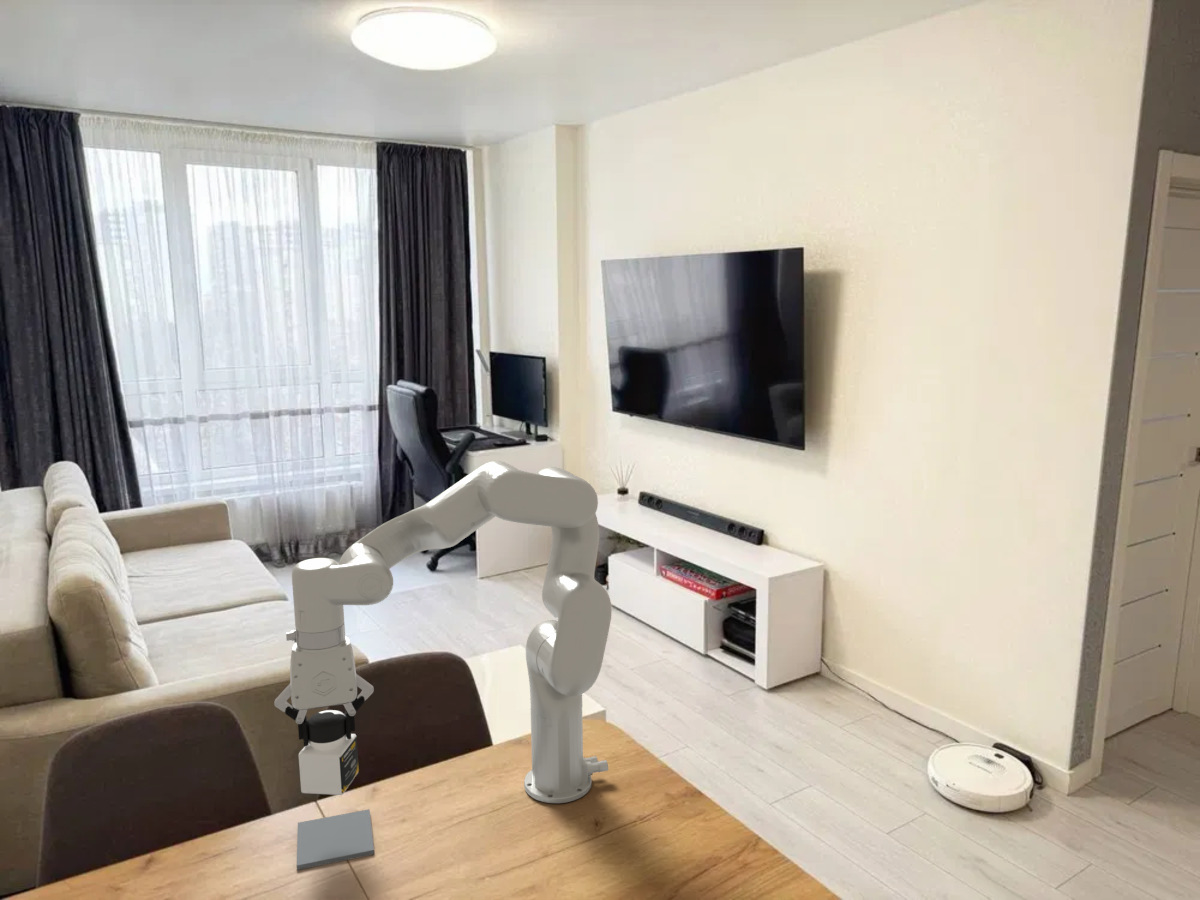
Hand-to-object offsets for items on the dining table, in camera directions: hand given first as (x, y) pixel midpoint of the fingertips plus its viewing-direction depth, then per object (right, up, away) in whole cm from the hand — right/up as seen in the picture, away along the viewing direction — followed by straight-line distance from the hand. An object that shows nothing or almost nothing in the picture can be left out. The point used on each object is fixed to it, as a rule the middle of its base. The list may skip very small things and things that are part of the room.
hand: (327, 737), depth 140 cm
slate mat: (0, -18, +3) cm, 19 cm away
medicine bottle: (0, -8, +1) cm, 8 cm away
